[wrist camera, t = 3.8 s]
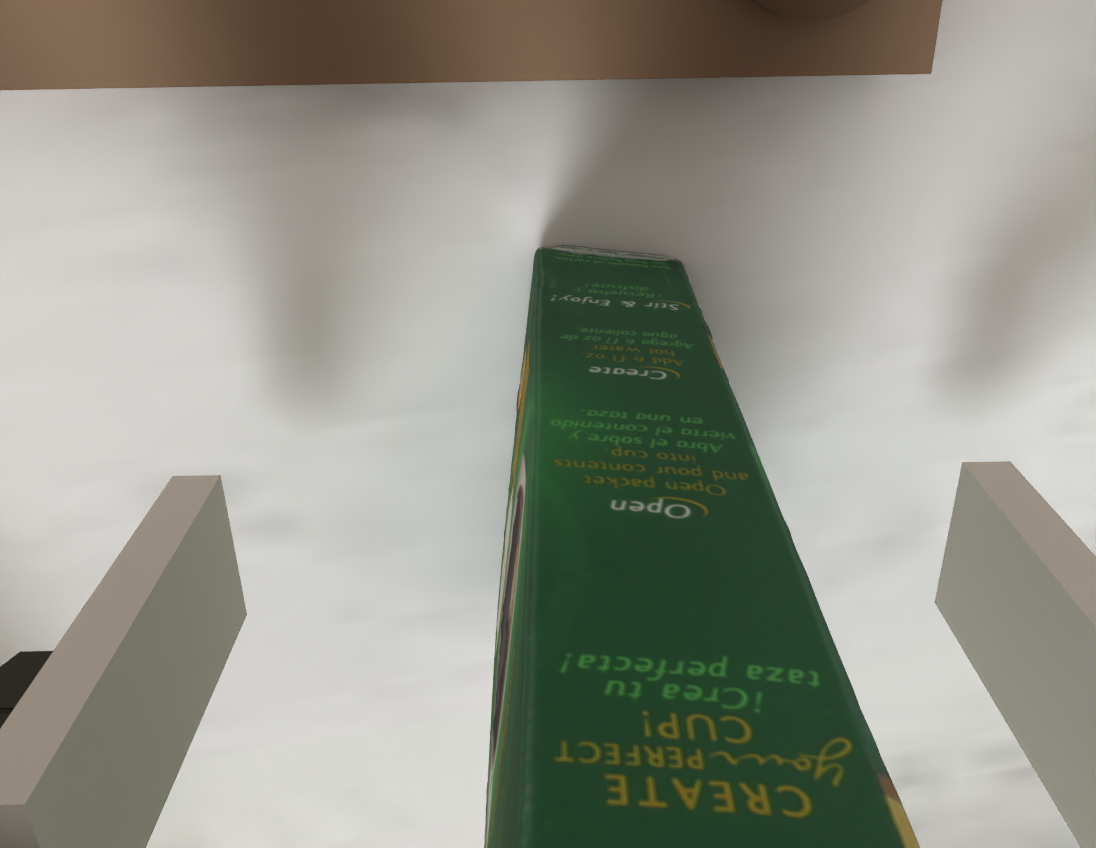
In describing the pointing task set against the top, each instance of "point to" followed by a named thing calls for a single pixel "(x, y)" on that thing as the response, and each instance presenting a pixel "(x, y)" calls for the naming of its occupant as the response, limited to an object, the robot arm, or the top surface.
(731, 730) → the coffee box
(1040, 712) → the robot arm
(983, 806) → the top surface
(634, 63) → the base plate
